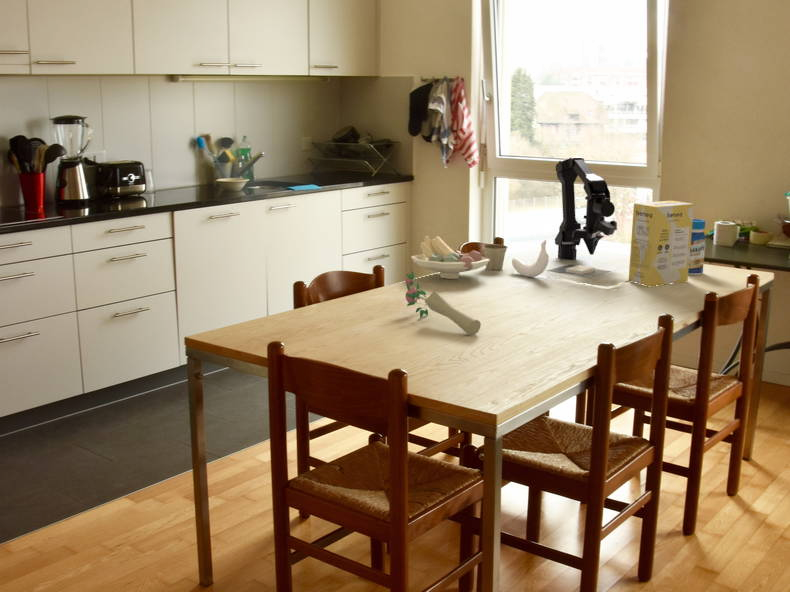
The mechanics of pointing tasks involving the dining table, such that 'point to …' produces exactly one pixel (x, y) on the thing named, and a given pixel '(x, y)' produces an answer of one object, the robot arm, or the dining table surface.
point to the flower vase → (440, 307)
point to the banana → (534, 268)
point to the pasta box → (661, 242)
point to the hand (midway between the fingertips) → (591, 254)
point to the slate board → (587, 275)
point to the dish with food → (447, 259)
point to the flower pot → (495, 256)
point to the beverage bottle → (697, 248)
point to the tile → (580, 269)
